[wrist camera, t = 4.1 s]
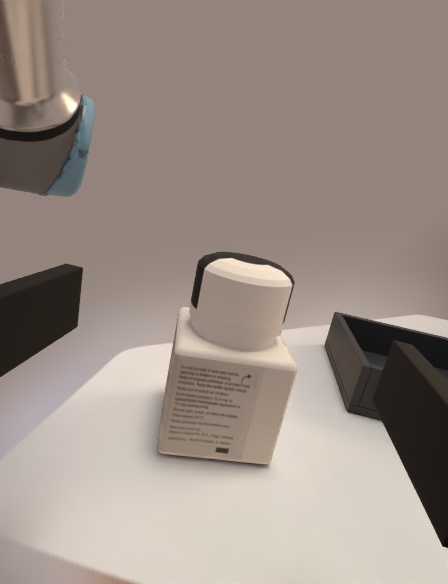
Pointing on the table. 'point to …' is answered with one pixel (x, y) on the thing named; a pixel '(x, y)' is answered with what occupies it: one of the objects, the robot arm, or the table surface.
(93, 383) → the table surface
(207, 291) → the container
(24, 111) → the robot arm
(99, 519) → the table surface
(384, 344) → the tub
